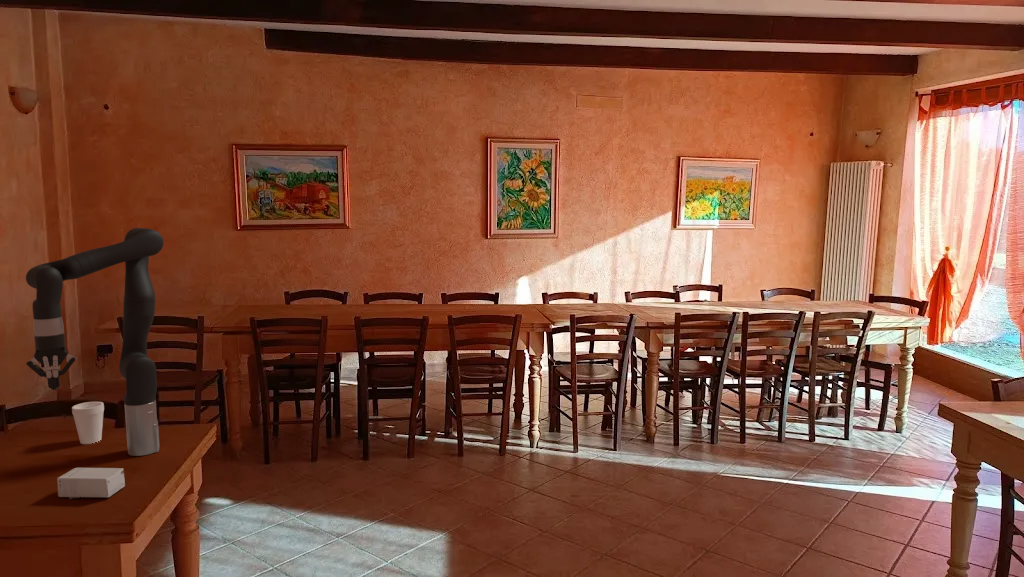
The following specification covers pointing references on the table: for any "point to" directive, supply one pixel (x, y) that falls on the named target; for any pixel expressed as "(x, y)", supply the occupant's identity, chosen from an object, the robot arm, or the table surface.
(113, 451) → the table surface
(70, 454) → the table surface
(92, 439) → the foam cup
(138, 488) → the table surface
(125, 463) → the table surface
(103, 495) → the skincare box
